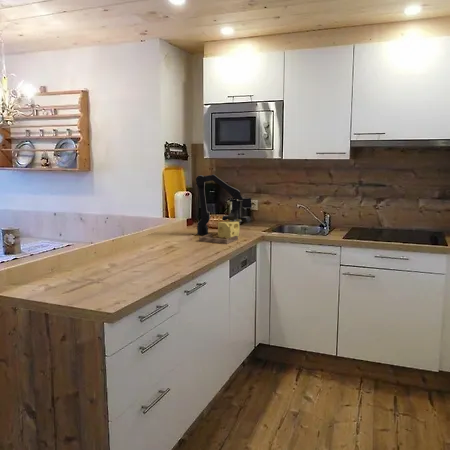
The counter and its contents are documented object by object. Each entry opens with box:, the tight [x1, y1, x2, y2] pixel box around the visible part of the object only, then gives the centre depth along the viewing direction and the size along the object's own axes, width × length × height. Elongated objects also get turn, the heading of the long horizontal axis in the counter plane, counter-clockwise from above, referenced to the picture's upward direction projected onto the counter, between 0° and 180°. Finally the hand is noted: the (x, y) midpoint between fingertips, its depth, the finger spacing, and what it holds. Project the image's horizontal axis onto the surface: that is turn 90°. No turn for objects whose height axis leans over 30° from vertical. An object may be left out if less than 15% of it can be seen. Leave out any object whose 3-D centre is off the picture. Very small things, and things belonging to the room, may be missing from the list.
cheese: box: [217, 220, 240, 239], centre depth 288 cm, size 10×11×10 cm
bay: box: [198, 233, 239, 245], centre depth 277 cm, size 20×14×2 cm
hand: (236, 231), depth 298 cm, fingers closed
